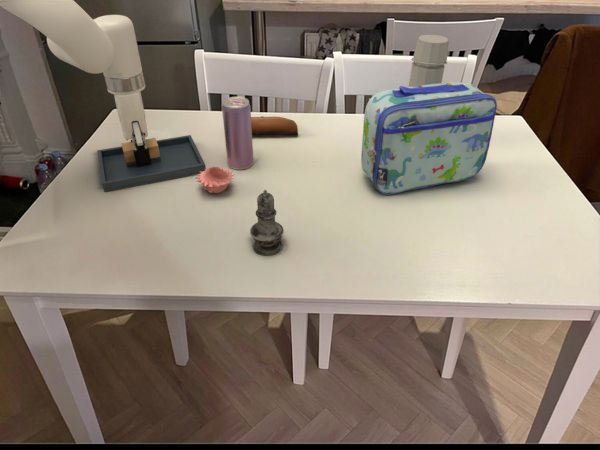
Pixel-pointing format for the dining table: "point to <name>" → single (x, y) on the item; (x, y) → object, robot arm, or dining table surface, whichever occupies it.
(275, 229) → the chess bishop
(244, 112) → the beverage can
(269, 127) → the sunglasses case
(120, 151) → the tray
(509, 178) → the dining table surface
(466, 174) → the lunch box
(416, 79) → the water bottle
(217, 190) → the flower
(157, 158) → the eraser
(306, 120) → the dining table surface
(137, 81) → the robot arm
